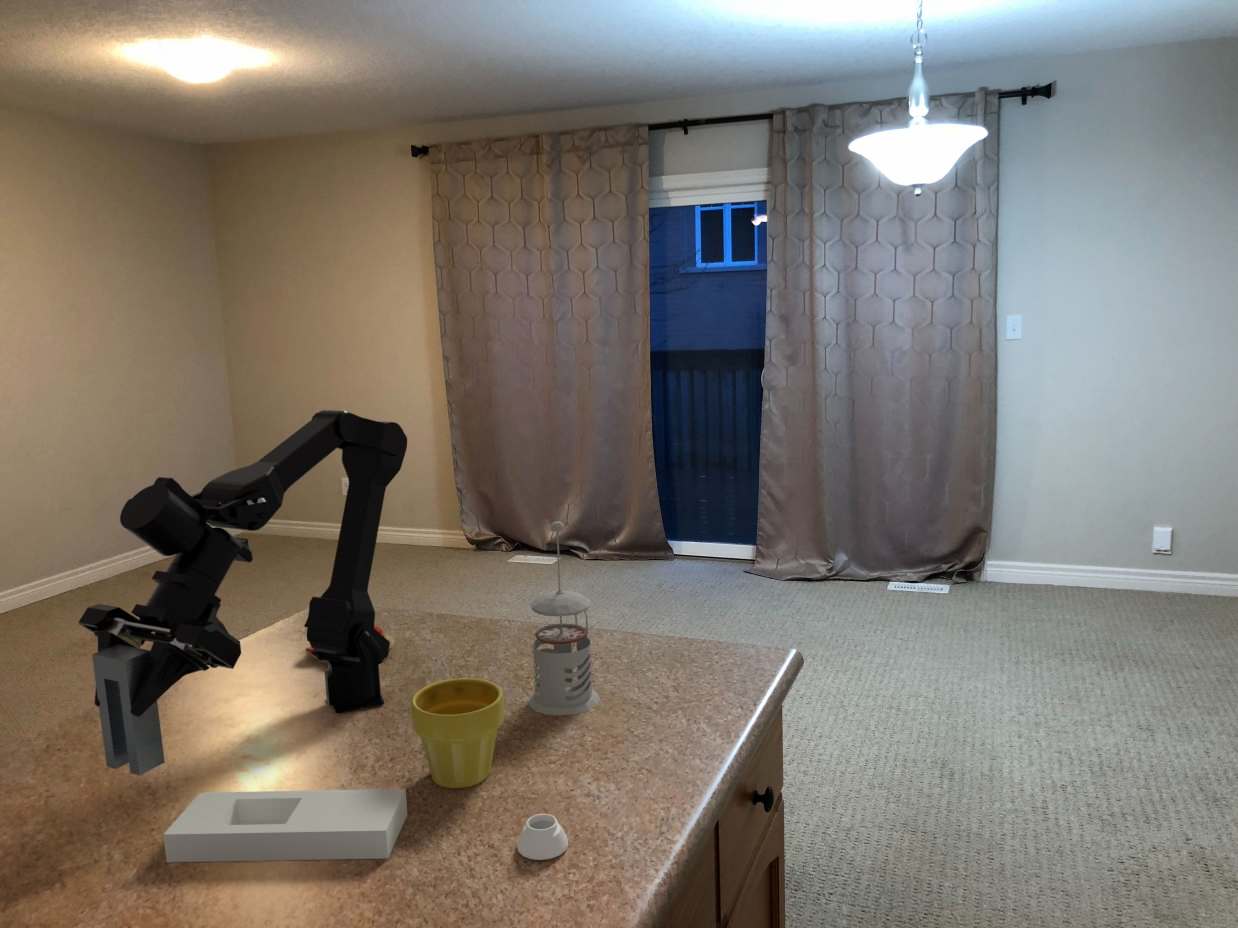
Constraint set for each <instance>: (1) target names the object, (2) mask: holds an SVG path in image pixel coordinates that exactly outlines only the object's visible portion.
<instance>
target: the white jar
mask: <svg viewBox="0 0 1238 928" xmlns="http://www.w3.org/2000/svg"><path fill="white" fill-rule="evenodd" d="M568 846H569V840H568V836H567V834H566V832H565V831H564V829H563V828H562V826H561V824H560V823H558V820H557V818H556V817H555V816H554V815H552V814H549V813H539V814H535V815H532V816H530V817H529V818H528V819H527V820H526V823H525V825H524V827H523V829H522V830H521V833H520V835H519V837H518V839H517V842H516V848H517V852H518V853H519V854H520V855H521V856H522V857H525V858H527V859H530V860H535V861H544V860H551V859H554V858H556V857H559V856H561V855H562V854H563V853H564V852H565V851H567V848H568Z"/></svg>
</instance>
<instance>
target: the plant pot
mask: <svg viewBox="0 0 1238 928" xmlns="http://www.w3.org/2000/svg"><path fill="white" fill-rule="evenodd" d="M504 702H505V701H504V693H503V690H502V688H501V686H499V684H496V683H494V682H493V681H490V680H486V679H481V678H476V677H475V678H474V677H460V678H458V677H457V678H450V679H449V678H448V679H444V680H439V681H437V682H433V683H431V684H428V685H426V686H424V687H422V688H421V689H419V690H417V692H416V693H415V694H414V695H413V697H412V699H411V703H410V706H411V708H410V709H411V721H412V728H413V731H414V732H415V734H416V735H418V736H419V737H420V740H421V743H422V748H423V750H424V754H425V757H426V760H427V764H428V768H429V771H430V774H431V778H432V780H433V782H434V783H435V784H437V785H438V786H440V787H443V788H446V789H447V788H449V789H465V788H469V787H474V786H476V785H478V784H480V783H482V782H483V781H485V780H486V778H488V776H489V775H490V772H491V769H492V762H493V755H494V749H495V745H496V739H497V733H498V729H499V728H500V727H501V725H502V724H503V721H504V718H505V717H504Z"/></svg>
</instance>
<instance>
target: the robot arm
mask: <svg viewBox="0 0 1238 928" xmlns="http://www.w3.org/2000/svg"><path fill="white" fill-rule="evenodd" d="M407 448H408V437H407V435H406V433H405V432H404V429H403V428H402V427H401V425H400V424H398V422H393V421H377V420H374V419H370V418H366V417H361V416H359V415H356V414H354V413H351V412H349V411H348V410H331V409H330V410H328V409H327V410H326V409H325V410H324V409H322V410H320V411H318V412H316V413H314V415H313V416H312V417H311V420H310V421H308V422H306V423H305V424H304V425H303V426H302V427H300V428H299V429H298V430H296V431H295V432H294V433H292V434H291V435H290V436H289V437H288V438H286V439H284V440H283V441H282V442H281V443H280V444H279V445H277V446H275V447H274V448H273V449H272V450H270V451H269V452H268V453H267V454H265V455H264V456H263V457H262V458H260V459H259V460H258V461H256V462H254V463H252V464H250V465H246V466H243V467H240V468H236V469H232V470H230V471H228V472H225V473H224V474H221V475H219V476H218V477H216V478H214V479H212V480H211V481H209V482H207V484H206V485H205V486H204V487H203V488H202V490H201V491H200V492H197V493H195V494H192V495H191V494H189V493H188V492H187V491H186V490H184V489H183V488H182V486H181V485H180V484H179V482H178V481H176V480H175V479H174V478H173V477H168V476H167V477H165V476H164V477H162V476H158V477H157V478H156V479H155V481H154V483H153V484H151V485H150V486H147V487H145V488H143V489H141V490H140V491H139V492H137V493H136V494H134V496H133V497H131V498H129V499H128V500H127V501H126V502H125V504H124V505H123V508H121V509H122V510H121V512H120V516H119V521H120V525H121V526H122V527H123V528H124V529H125V530H126V531H129V533H131V534H132V535H134V536H135V537H136V538H138V539H139V540H141V542H143V543H144V544H146V545H147V546H149V547H150V548H152V550H154V551H156V552H157V553H158V554H160V555H161V556H164V557H171V556H174V557H173V559H172V560H171V562H170V563H169V565H168V567H167V568H166V570H165V571H163V570H156V571H155V573H154V574H153V576H152V577H151V580H153V581H154V582H156V583H157V586H156V587H155V589H154V590H153V592H152V594H151V595H150V597H149V598H148V600H147V602H146V603H145V604H144V605H143V604H138V603H136V604H135V605H134V607H133V608H132V610H131V611H130V612H131V614H130V613H129V612H127V611H125V610H124V609H122V608H121V607H119V606H113V605H109V604H104V603H103V604H102V603H97V604H94V605H90V606H87V608H86V609H85V611H84V612H83V615H82V616H81V617H80V619H79V621H78V625H80V626H81V627H83V628H85V629H86V630H88V631H90V632H92V633H93V635H94V636H95V637H96V638H97V652H99V651H102V650H105V649H107V648H110V647H113V646H115V645H118V644H119V645H124V646H129V647H134V648H139V649H141V647H142V646H143V645H144V644H145V642H150V643H152V644H151V648H150V653H149V656H148V659H147V662H146V665H145V667H144V670H143V673H142V676H141V679H140V682H139V684H138V687H137V690H136V693H135V696H134V699H133V703H132V706H131V710H130V713H131V714H133V715H134V716H137V717H139V716H141V715H142V714H143V713H144V712H145V711H146V710H147V709H148V708H149V707H150V706H151V705H152V704H153V703H155V702H156V701H157V702H158V700H159V699H160V698H161V697H162V696H163V695H164V694H165V693H166V692H167V691H168V690H169V689H171V688H172V687H173V686H174V685H175V684H176V683H177V682H178V681H180V680H181V679H182V678H184V677H185V676H187V675H191V674H193V673H196V672H197V673H198V672H200V671H203V672H206V671H209V669H210V668H212V669H217V668H218V667H221V668H225V669H231V670H233V669H234V668H235V666H236V664H237V663H238V660H239V659H240V656H241V654H242V647H241V641H240V640H238V639H237V638H236V637H234V636H232V635H231V634H230V633H229V632H228V631H229V630H227V628H226V626H225V625H224V623H223V622H222V621H221V620H220V619H219V618H218V617H217V615H218V611H219V609H221V605H222V604H221V602H222V599H221V598H220V597H218V596H217V595H216V594H217V593H218V590H219V588H220V587H221V585H222V583H223V581H224V579H225V578H226V576H227V574H228V573H229V571H230V569H231V568H232V565H233V563H234V562H236V561H237V562H244V563H251V562H253V560H254V558H253V553H252V551H251V548H250V547H249V545H250V544H249V539H248V538H245V537H235V536H234V535H232V534H231V533H230V532H228V531H227V530H226V529H231V530H241V531H253V532H254V531H259V530H260V529H262V528H263V527H265V526H266V525H267V524H268V523H269V521H270V520H271V519H272V518H273V517H274V516H275V514H276V513H277V512H278V511H279V509H280V508H281V507H282V505H283V502H284V501H283V500H284V497H285V493H286V492H287V491H288V490H289V488H291V487H292V486H293V485H295V483H297V482H298V481H299V480H301V478H303V477H304V476H305V475H306V474H307V473H308V472H310V471H311V470H312V469H313V468H315V467H316V466H317V465H318V464H319V463H321V462H322V461H323V460H324V459H325V458H327V457H328V456H329V455H330V454H331V453H333V452H334V451H335V450H336V449H338V450H341V462H342V465H343V468H344V470H345V473H346V476H347V479H348V486H347V492H346V497H345V502H344V507H343V513H342V518H341V522H340V523H341V524H340V530H339V533H338V534H339V535H338V539H337V546H336V550H335V551H336V552H335V556H334V561H333V566H332V567H333V568H332V571H331V578H330V582H329V584H328V585H329V586H328V588H326V590H325V591H324V592H323V593H322V594H321V596H320V597H319V596H312V597H311V599H310V600H309V605H308V606H309V607H308V615H307V619H306V621H305V623H304V625H303V627H304V628H306V640H307V642H309V644H310V647H312V648H313V650H314V652H315V654H316V657H317V659H318V660H325V661H328V664H327V666H328V667H327V668H328V669H326V670H325V671H324V682H325V683H324V684H325V693H326V694H325V696H326V700H327V703H328V705H329V706H330V707H332V708H333V710H334V713H335V714H342V713H343V714H344V713H347V712H353V711H357V710H362V709H368V708H372V707H378V706H381V705H384V704H385V699H384V697H383V696H382V693H381V680H380V678H381V676H380V665H382V664H383V661H384V659H387V658H389V651H390V650H389V646H390V642H389V641H388V640H387V639H386V638H385V637H384V636H382V635H381V634H380V633H379V632H378V631H377V630H375V629H374V625H375V622H376V621H375V619H376V611H375V608H374V605H373V602H372V601H371V597H370V594H369V592H368V591H369V582H370V578H371V571H372V566H373V561H374V555H375V550H376V544H377V538H378V534H379V528H380V522H381V517H382V510H383V505H384V500H385V494H386V490H387V487H388V485H390V483H391V482H392V481H393V479H394V478H395V477H396V476H397V475H398V473H399V472H400V470H401V468H402V465H403V462H404V458H405V455H406V452H407ZM132 614H133V615H132ZM135 616H136V617H135ZM137 617H138V618H139V619H138V618H137ZM317 659H316V660H317ZM318 660H317V661H318ZM94 693H95V695H94V705H95V706H96V707H98V708H99V702H98V696H97V689H96V688H95V692H94Z"/></svg>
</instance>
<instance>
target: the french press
mask: <svg viewBox="0 0 1238 928" xmlns="http://www.w3.org/2000/svg"><path fill="white" fill-rule="evenodd" d="M549 529H550V531H551V532H556V549H557V551H556V552H557V573H558V574H557V575H558V578H557V579H558V590H552V591H550V592H547V593H545V594H543V595H540V596H538V597H536V598H535V599H534V600H532V602H531V603H530V604H529V606H530V609H531V610H532V611H533V612H534V613H536V614H538V615H542V616H546V617H559V623H554V624H553V623H552V624H548V625H543V627H540V628H538V629H537V630H536V631H535V633H534V636H535V638H536V639H535V640H534V642H533V643H532V647H533V648H532V651H533V653H532V654H533V655H532V656H533V670H534V672H533V673H534V675H533V677H534V692H533V694H532V695H531V696H530V697H529V699H528V701H527V703H528V706H529V708H531V709H532V710H533V711H535V712H536V713H540V714H543V715H548V716H559V717H560V716H570V715H579V714H582V713H585V712H587V711H590V710H592V709H593V708H595V707H596V706H598V704H599V702H600V700H601V698H600V695H599V694H598V692H596V691H595V690H594V689H593V686H592V685H593V683H592V681H593V680H592V677H593V675H592V671H591V670H592V663H591V660H592V658H591V657H592V655H591V654H592V653H591V640H590V639H589V637H588V633H589V624H588V623H589V622H588V615H587V610H588V609H589V608H590V606H591V604H592V602H591V600H590V599H589V598H587V597H585V596H584V595H582V594H581V593H580V592H575V591H573V590H561V589H562V588H561V571H560V569H561V568H560V565H561V564H560V544H559V538H560V537H559V532H563V531H565V525H564V523H563V522H562V521H553V522H552V523H551V524H550V527H549ZM582 613H584V615H585V626H582V625H581V624H578V615H579V614H582ZM570 616H574V617H575V618H574V619H575V620H574V621H575V623H567V622H566V623H565V622H564V623H563V622H562V619H563V618H562V617H570ZM541 645H552V646H553V648H548V647H547V648H540V649H538V648H539V647H540V646H541ZM575 646H576V651H573V650H574V647H575ZM575 668H576V670H577V671H575V672H573V669H575ZM538 676H539V677H538ZM575 678H577V680H576V681H574V679H575Z"/></svg>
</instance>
